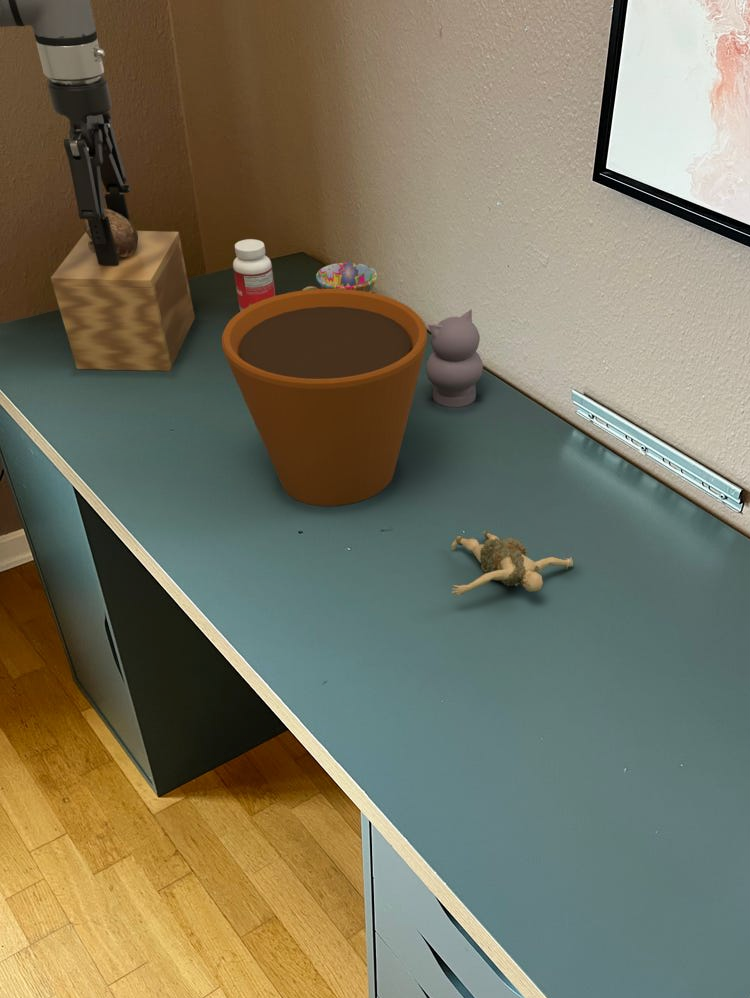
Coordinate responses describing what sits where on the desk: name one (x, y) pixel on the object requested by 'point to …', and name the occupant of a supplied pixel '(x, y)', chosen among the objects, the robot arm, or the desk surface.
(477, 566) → the desk surface
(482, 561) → the figurine
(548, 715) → the desk surface
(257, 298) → the pill bottle
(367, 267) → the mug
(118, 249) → the mushroom
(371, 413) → the flower pot
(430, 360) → the cat figurine
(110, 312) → the wood grain cube
